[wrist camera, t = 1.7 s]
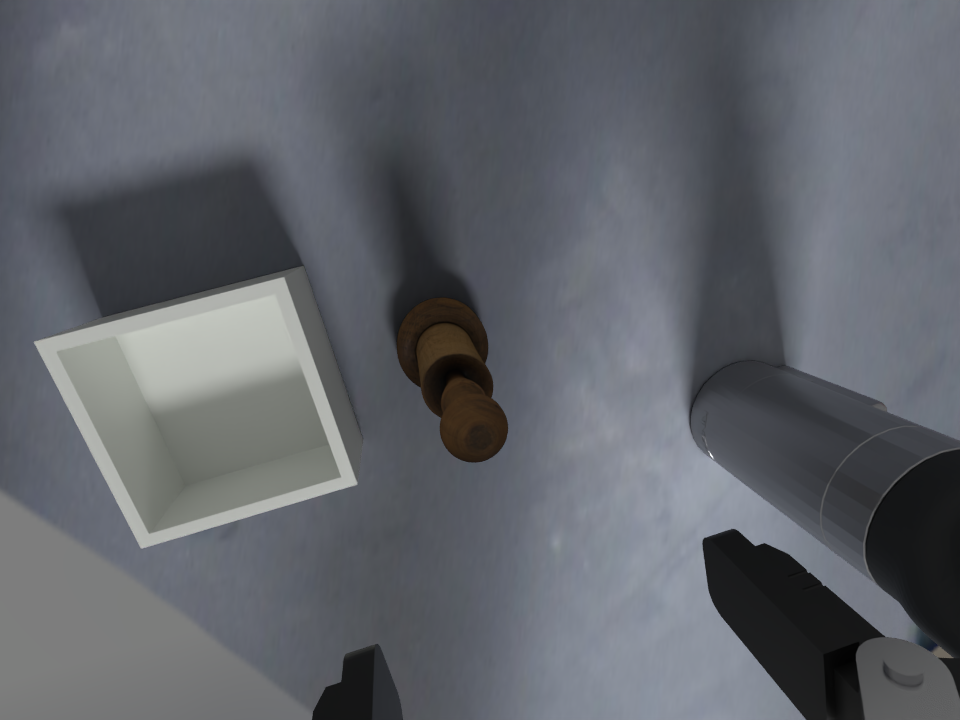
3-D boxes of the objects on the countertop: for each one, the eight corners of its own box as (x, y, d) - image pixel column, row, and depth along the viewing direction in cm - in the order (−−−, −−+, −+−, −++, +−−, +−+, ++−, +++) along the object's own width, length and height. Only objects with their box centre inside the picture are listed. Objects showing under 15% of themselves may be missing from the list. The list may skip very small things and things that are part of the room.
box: (303, 265, 36) (284, 276, 30) (363, 439, 40) (357, 484, 34) (101, 317, 35) (33, 341, 28) (183, 491, 39) (141, 548, 32)
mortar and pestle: (395, 297, 38) (398, 366, 21) (484, 296, 39) (557, 361, 22) (398, 385, 40) (403, 516, 22) (483, 382, 41) (550, 505, 23)
